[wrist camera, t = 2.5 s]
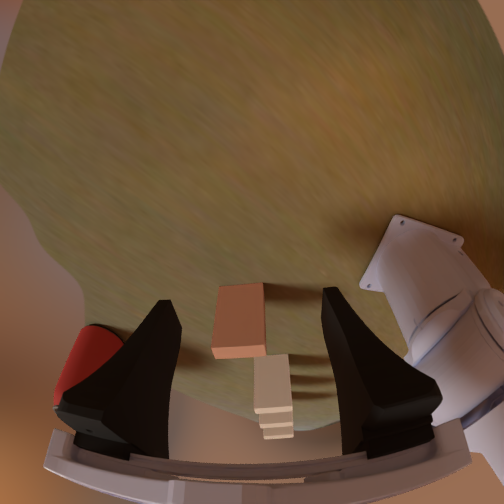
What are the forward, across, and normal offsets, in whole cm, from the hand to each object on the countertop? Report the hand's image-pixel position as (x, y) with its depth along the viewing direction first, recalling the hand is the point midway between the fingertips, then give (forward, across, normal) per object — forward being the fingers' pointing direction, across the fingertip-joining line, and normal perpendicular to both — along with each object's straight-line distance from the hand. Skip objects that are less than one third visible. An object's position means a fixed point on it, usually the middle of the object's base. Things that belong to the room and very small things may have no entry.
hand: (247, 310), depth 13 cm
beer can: (+11, +21, +15) cm, 28 cm away
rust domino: (+10, +2, +8) cm, 13 cm away
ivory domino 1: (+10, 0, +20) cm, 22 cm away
